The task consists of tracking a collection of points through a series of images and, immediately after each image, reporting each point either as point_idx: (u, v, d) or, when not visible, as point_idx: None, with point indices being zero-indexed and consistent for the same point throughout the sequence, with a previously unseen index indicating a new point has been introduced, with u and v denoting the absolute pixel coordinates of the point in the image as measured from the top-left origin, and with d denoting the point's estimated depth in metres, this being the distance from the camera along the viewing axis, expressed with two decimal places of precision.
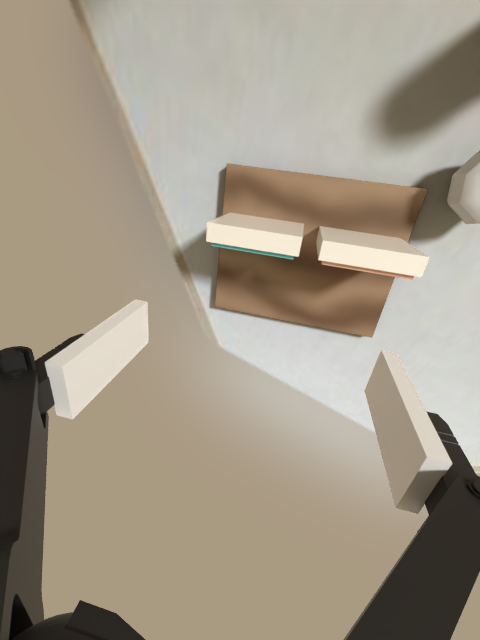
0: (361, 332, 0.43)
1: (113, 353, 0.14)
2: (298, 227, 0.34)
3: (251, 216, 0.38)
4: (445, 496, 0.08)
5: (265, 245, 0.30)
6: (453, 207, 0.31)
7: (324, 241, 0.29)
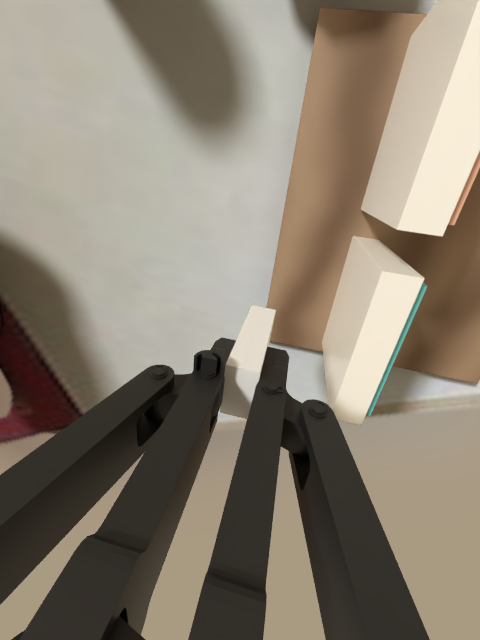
0: None
1: None
2: (358, 255, 0.20)
3: (330, 316, 0.26)
4: (252, 404, 0.10)
5: (386, 338, 0.16)
6: None
7: (399, 225, 0.13)
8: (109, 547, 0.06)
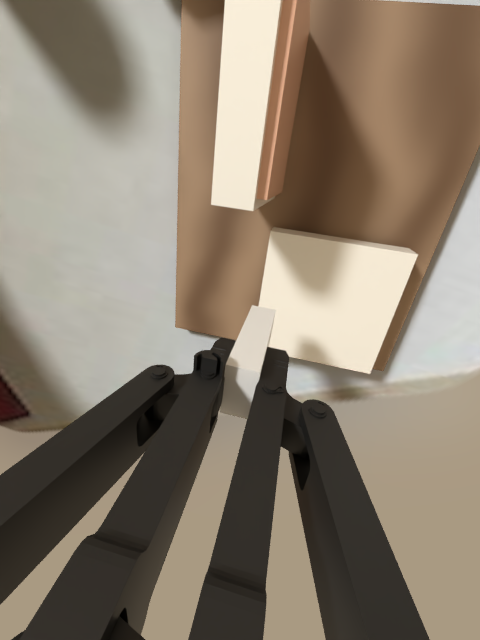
0: None
1: None
2: (326, 248, 0.20)
3: None
4: (251, 404, 0.10)
5: None
6: None
7: (213, 200, 0.13)
8: (109, 547, 0.06)
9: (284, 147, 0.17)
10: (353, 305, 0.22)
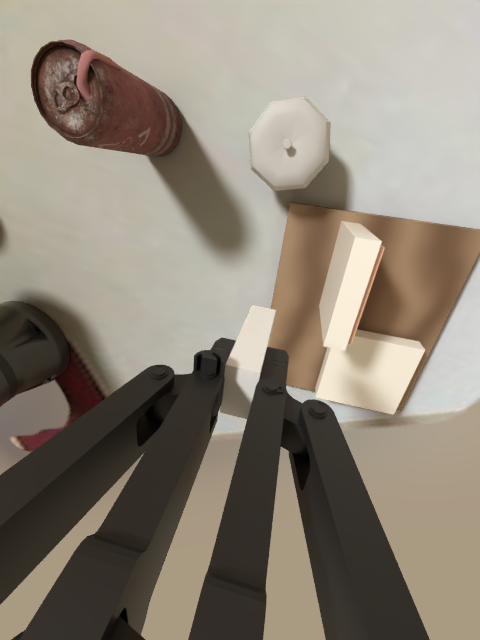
0: (476, 247, 0.30)
1: None
2: (369, 343, 0.34)
3: (326, 380, 0.37)
4: (252, 404, 0.10)
5: None
6: (308, 183, 0.28)
7: (324, 344, 0.27)
8: (109, 547, 0.06)
9: None
10: (384, 375, 0.35)
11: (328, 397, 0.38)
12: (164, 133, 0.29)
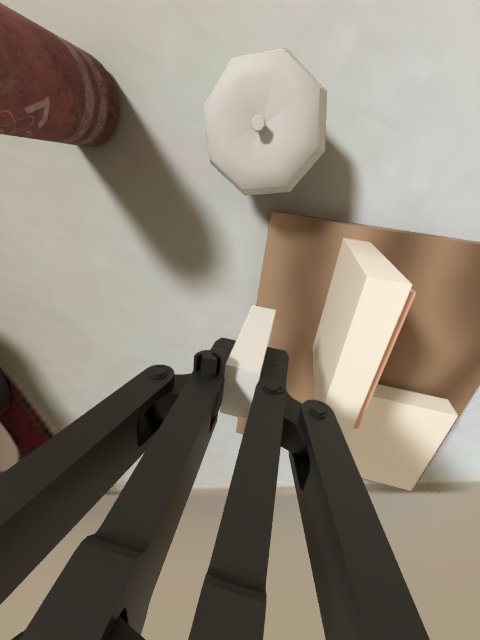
0: None
1: None
2: (380, 404, 0.25)
3: None
4: (252, 404, 0.10)
5: None
6: (294, 184, 0.19)
7: None
8: (109, 547, 0.06)
9: None
10: (400, 443, 0.26)
11: None
12: (84, 110, 0.19)
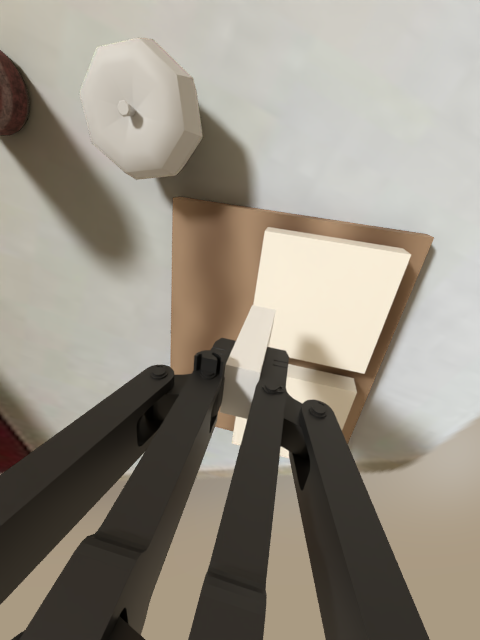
0: (417, 258, 0.22)
1: None
2: (286, 382, 0.26)
3: (241, 423, 0.29)
4: (252, 404, 0.10)
5: None
6: (176, 168, 0.20)
7: (364, 371, 0.24)
8: (109, 547, 0.06)
9: None
10: None
11: None
12: None
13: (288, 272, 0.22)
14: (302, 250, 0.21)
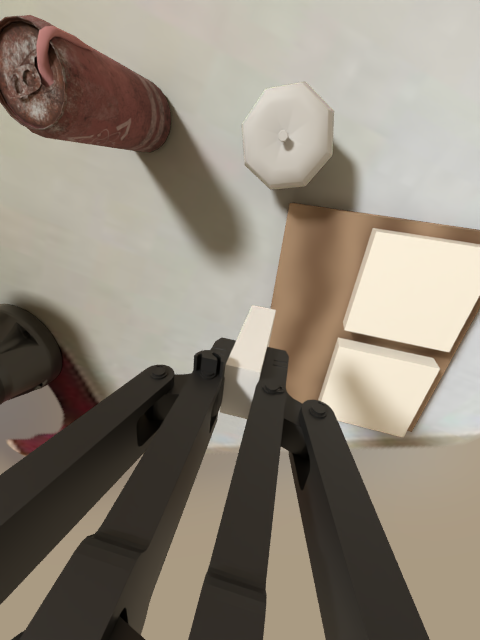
0: None
1: None
2: (376, 360, 0.31)
3: (329, 397, 0.34)
4: (252, 404, 0.10)
5: None
6: (308, 181, 0.25)
7: (449, 350, 0.28)
8: (109, 547, 0.06)
9: None
10: (393, 394, 0.32)
11: None
12: (150, 125, 0.26)
13: (392, 265, 0.26)
14: (407, 247, 0.25)
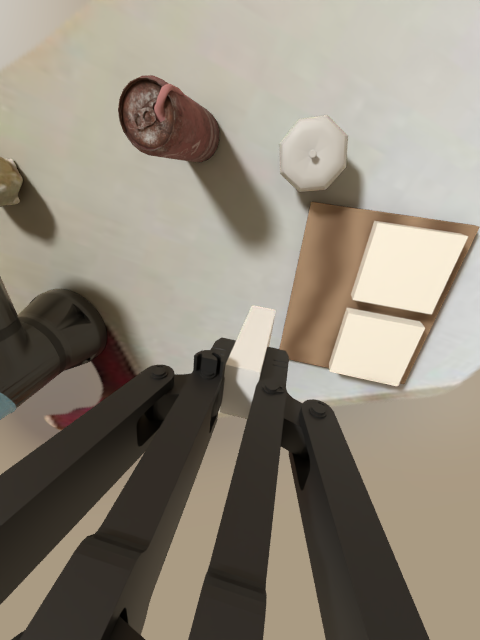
0: (468, 240, 0.35)
1: None
2: (377, 323, 0.40)
3: (339, 355, 0.43)
4: (252, 404, 0.10)
5: None
6: (328, 185, 0.34)
7: (431, 313, 0.38)
8: (109, 547, 0.06)
9: None
10: (390, 350, 0.41)
11: (340, 371, 0.44)
12: (208, 143, 0.34)
13: (389, 248, 0.35)
14: (400, 234, 0.35)
